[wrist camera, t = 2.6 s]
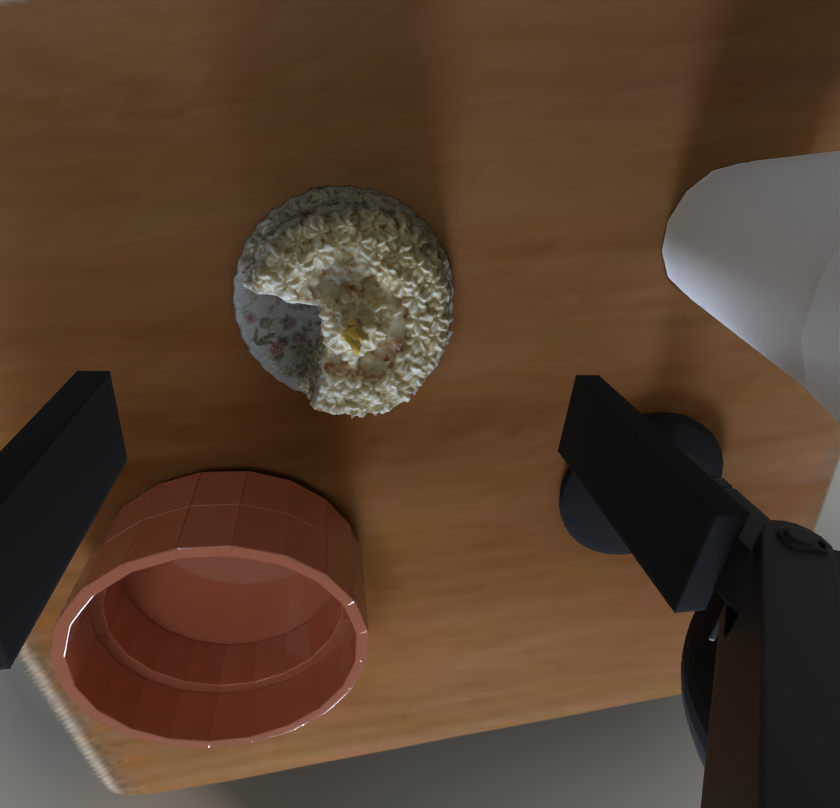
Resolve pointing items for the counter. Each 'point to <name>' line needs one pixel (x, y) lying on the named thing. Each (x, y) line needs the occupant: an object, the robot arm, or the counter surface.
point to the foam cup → (768, 261)
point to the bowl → (215, 613)
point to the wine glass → (602, 537)
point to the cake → (345, 299)
